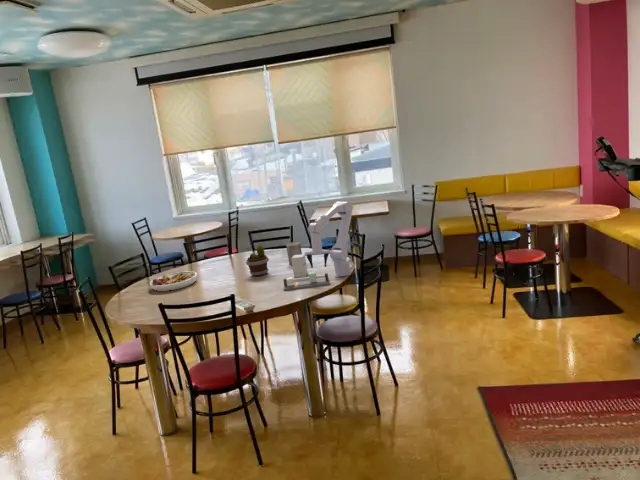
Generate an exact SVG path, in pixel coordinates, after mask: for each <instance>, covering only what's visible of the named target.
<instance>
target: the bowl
mask: <svg viewBox="0 0 640 480" xmlns="http://www.w3.org/2000/svg"><path fill="white" fill-rule="evenodd" d="M197 279H198V273H197V272H196V271H187V270H186V271H178V272H173V273H168V274H164V275H162V276H158V277H156V278H153V280H151V281H150V283H149V285H150V287H151V288H152V290H154V291H156V290H157V291H156V292H170V291H169V290H172V291H175V290H176V289H177V290H181V289H183V288H186V287H189V286H191V285H192V284H195V282H196V280H197ZM180 288H181V289H180ZM177 290H176V291H177Z"/></svg>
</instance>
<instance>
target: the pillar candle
mask: <svg viewBox="0 0 640 480" xmlns="http://www.w3.org/2000/svg"><path fill="white" fill-rule="evenodd" d="M285 246H286V252H287V258H288V264H289V265H290V266H292V261H291V258H292V257H293V256H294V255H302V254H303V252H302V251H303V250H302V246H301V242H300V241H292V242H289V243H287V244H286V245H285Z"/></svg>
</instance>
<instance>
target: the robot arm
mask: <svg viewBox="0 0 640 480" xmlns="http://www.w3.org/2000/svg"><path fill="white" fill-rule="evenodd" d="M353 209H354V206H353V204H352V203H351V201H349V200H347V201H338V200H337V201H335V203H333V204H332V207H330V208H329V210H328V211H327V212H326V213H325V214H320V215H319V217H318V218H317V219H315V220H314V222H311V223H310V224H309V225H308V228H307V230H308V232H309V235H310V239H311V250H310V251H305V252H304V254H305V257H306V259H307V260H308V263H309V264H310V268H311V269H313V268H314V264H313V256H318V255H320V256H321V255H323V261H324V262H323V263H324V268H327V262H328V258H330V259H331V260H332V262H333V267H334V278H338V277H346V276H347V277H348V276H351V275H352V274H351V271H352V269H351V266H350V265H351V264H350V259H349V258H348V255H349V253H348V249H349V248H348V247H347V246H346V244H347V239H348V236H349V235H348V234H349V229H350V226H351V222H352V211H353ZM336 214H338V216H340V218H341V220H340V226H339V229H338V233H337V240H336V243H335V244H334V245H333V246H332V248H331V250H330V249H329V250H326V249H325V250H323V245H322V244H323V243H322V234H321V233H322V232H323V229H324V227H325V226H327V225H328V224H329V223H330V220H331V218H333V217H334V216H335V215H336Z"/></svg>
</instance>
